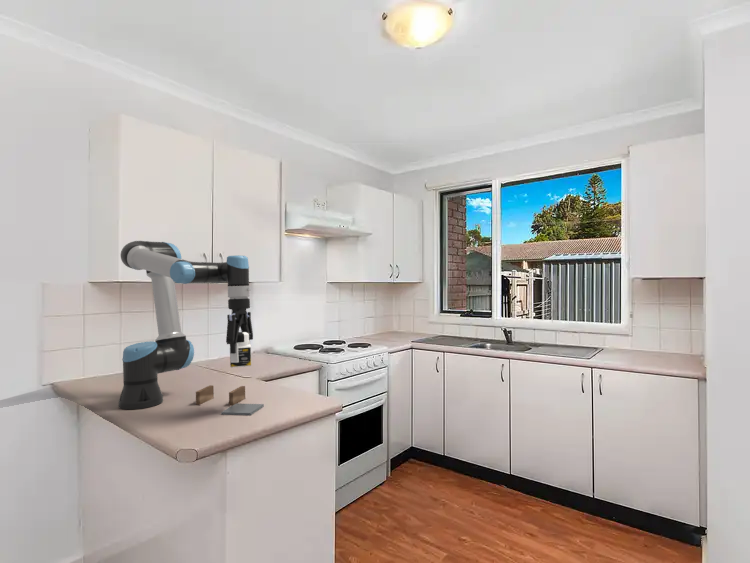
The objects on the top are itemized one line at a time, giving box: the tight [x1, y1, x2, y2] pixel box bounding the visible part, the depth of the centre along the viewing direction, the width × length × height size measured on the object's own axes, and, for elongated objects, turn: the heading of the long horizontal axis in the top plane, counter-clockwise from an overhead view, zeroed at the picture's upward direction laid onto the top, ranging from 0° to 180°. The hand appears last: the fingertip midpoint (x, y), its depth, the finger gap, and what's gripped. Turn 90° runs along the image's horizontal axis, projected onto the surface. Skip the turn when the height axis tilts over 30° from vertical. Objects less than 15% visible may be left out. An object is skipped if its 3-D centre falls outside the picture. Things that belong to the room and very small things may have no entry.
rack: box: [195, 385, 246, 407], centre depth 171 cm, size 15×10×5 cm, turn 81°
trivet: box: [220, 403, 265, 416], centre depth 159 cm, size 11×11×1 cm
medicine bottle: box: [229, 331, 252, 369], centre depth 159 cm, size 7×7×12 cm
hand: (240, 359), depth 159 cm, fingers closed on medicine bottle, 9 cm apart
